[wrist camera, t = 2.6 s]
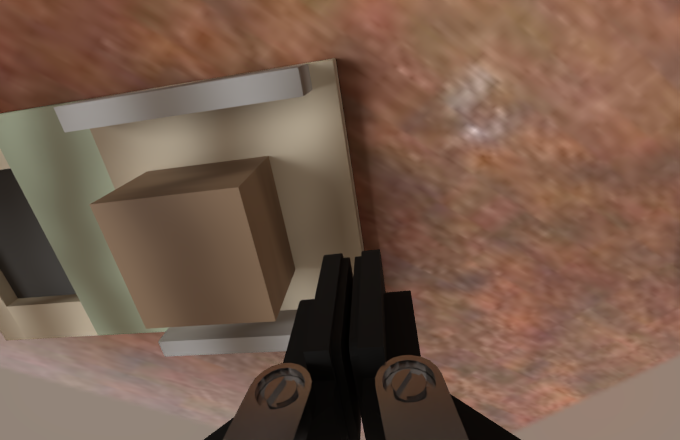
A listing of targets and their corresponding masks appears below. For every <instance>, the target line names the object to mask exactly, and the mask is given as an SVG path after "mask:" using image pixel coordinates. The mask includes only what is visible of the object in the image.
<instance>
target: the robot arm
mask: <svg viewBox="0 0 680 440" xmlns="http://www.w3.org/2000/svg"><path fill="white" fill-rule="evenodd" d="M361 418H362V423H363V428H364V433H365V438H366V440H521V439H519V438H517V437H516V436H514V435H513V434H511V433H510V432H508V431H507V430H505V429H504V428H502V427H500V426H499V425H497V424H496V423H494V422H493V421H491V420H490V419H488V418H486V417H485V416H483V415H482V414H480V413H479V412H477V411H476V410H474V409H473V408H471V407H469V406H468V405H466V404H465V403H463V402H462V401H460V400H459V399H457V398H455V397H454V396H452V395H451V394H450V393H449V390H448V388H447V385H446V383H445V380H444V378H443V376H442V373H441V372H440V370H439V369H438V367H437V366H436V365H435V364H433V363H432V362H431V361H430V360H427V359H425V358H423V357H421V355H420V349H419V342H418V336H417V330H416V323H415V317H414V310H413V304H412V298H411V292H410V291H400V292H388V293H385V285H384V278H383V270H382V262H381V255H380V249H379V250H369V251H361V256H357V257H355V260H354V275H353V272H352V266H351V261H350V257H347V258H344V257H343V254H342V253H339V254H329V255H324V256H323V261H322V265H321V270H320V275H319V280H318V284H317V289H316V294H315V299H307V300H301V301H300V302H299V305H298V309H297V312H296V316H295V320H294V324H293V328H292V331H291V335H290V339H289V343H288V347H287V350H286V354H285V358H284V362H283V363H281V364H278V365H274V366H272V367H270V368H268V369H266V370H264V371H263V372H262V373H261V374H259V375H258V376H257V377H256V378H255V380H254V381H253V382H252V384H251V385H250V387H249V389H248V391H247V393H246V395H245V397H244V399H243V401H242V403H241V405H240V407H239V409H238V411H237V413H236V415H235V417H234V418H232V419H231V420H230V421H228V422H227V423H226V424H224V425H223V426H222V427H220V428H219V429H217V430H216V431H215V432H213V433H212V434H211V435H209V436H208V437H207V438H205V439H204V440H360V431H361Z"/></svg>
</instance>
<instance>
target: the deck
mask: <svg viewBox="0 0 680 440" xmlns="http://www.w3.org/2000/svg"><path fill="white" fill-rule="evenodd" d="M263 156H269V160H270V164H271V168H272V172H273V177H274V181H275V185H276V189H277V194H278V198H279V202H280V206H281V210H282V215H283V219H284V223H285V227H286V232H287V236H288V240H289V244H290V248H291V253H292V257H293V261H294V265H295V272H294V275H293V277H292V280H291V283H290V285H289V288H288V290H287V293H286V296H285V298H284V301H283V304H282V306H281V309H280V311H279V314H278V317H277V319H276V321H273V322H255V323H237V324H220V325H202V326H185V327H167V328H150V329H146V328H145V325H144V323H143V321H142V319H141V317H140V314H139V312H138V310H137V308H136V306H135V304H134V301H133V299H132V297H131V295H130V293H129V290H128V288H127V286H126V284H125V282H124V279H123V277H122V275H121V273H120V271H119V268H118V266H117V264H116V262H115V260H114V257H113V255H112V253H111V251H110V249H109V246H108V244H107V242H106V240H105V238H104V235H103V233H102V231H101V229H100V227H99V224H98V222H97V220H96V218H95V216H94V214H93V211H92V209H91V207H90V205H89V204H91V203H93V202H95V201H96V200H98V199H100V198H102V197H103V196H105V195H107V194H109V193H110V192H112V191H114V190H115V189H117V188H119V187H121V186H122V185H124V184H126V183H128V182H129V181H131V180H133V179H135V178H136V177H138V176H140V175H142V174H143V173H145V172H147V171H153V170H161V169H169V168H177V167H185V166H192V165H200V164H208V163H216V162H224V161H231V160H239V159H247V158H255V157H263ZM361 251H364V247H363V240H362V233H361V226H360V220H359V213H358V206H357V200H356V193H355V186H354V179H353V173H352V166H351V159H350V152H349V146H348V139H347V132H346V126H345V119H344V112H343V105H342V99H341V92H340V85H339V78H338V72H337V65H336V58H333V59H327V60H321V61H315V62H309V63H303V64H297V65H291V66H285V67H279V68H272V69H266V70H260V71H254V72H248V73H242V74H236V75H230V76H224V77H218V78H212V79H206V80H200V81H194V82H188V83H182V84H176V85H170V86H163V87H157V88H151V89H145V90H139V91H133V92H127V93H121V94H115V95H109V96H103V97H97V98H91V99H85V100H79V101H73V102H67V103H61V104H55V105H48V106H42V107H36V108H30V109H24V110H18V111H12V112H6V113H0V331H1V333H2V335H3V336H4V338H5V339H6V340H23V339H42V338H60V337H78V336H96V335H114V334H132V333H150V332H165V333H164V335H163V336H162V338H161V339H160V340H159V345H160V347H161V349H162V351H163V354H164V356H185V355H208V354H231V353H254V352H276V351H286V350H287V347H288V343H289V339H290V335H291V331H292V328H293V324H294V320H295V316H296V312H297V309H298V305H299V302H300V301H301V300H307V299H315V294H316V289H317V284H318V280H319V275H320V270H321V265H322V261H323V256H324V255H329V254H339V253H342V254H343V257H344V258H347V257H350V261H351V266H352V272H353V275H354V260H355V257H357V256H361Z"/></svg>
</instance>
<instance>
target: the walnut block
mask: <svg viewBox="0 0 680 440" xmlns="http://www.w3.org/2000/svg"><path fill="white" fill-rule="evenodd" d="M89 205H90V207H91V209H92V211H93V214H94V216H95V218H96V220H97V222H98V224H99V227H100V229H101V231H102V233H103V235H104V238H105V240H106V242H107V244H108V246H109V249H110V251H111V253H112V255H113V257H114V260H115V262H116V264H117V266H118V268H119V271H120V273H121V275H122V277H123V279H124V282H125V284H126V286H127V288H128V290H129V293H130V295H131V297H132V299H133V301H134V304H135V306H136V308H137V310H138V312H139V314H140V317H141V319H142V321H143V323H144V325H145V328H146V329H150V328H167V327H185V326H202V325H220V324H237V323H255V322H273V321H276V319H277V317H278V314H279V311H280V309H281V306H282V304H283V301H284V298H285V296H286V293H287V290H288V288H289V285H290V283H291V280H292V277H293V275H294V272H295V265H294V261H293V257H292V253H291V248H290V244H289V240H288V236H287V232H286V227H285V223H284V219H283V215H282V210H281V206H280V202H279V198H278V194H277V189H276V185H275V181H274V177H273V172H272V168H271V164H270V160H269V156H263V157H255V158H247V159H239V160H231V161H224V162H216V163H208V164H200V165H192V166H185V167H177V168H169V169H161V170H153V171H147V172H145V173H143V174H142V175H140V176H138V177H136V178H135V179H133V180H131V181H129V182H128V183H126V184H124V185H122V186H121V187H119V188H117V189H115V190H114V191H112V192H110V193H109V194H107V195H105V196H103V197H102V198H100V199H98V200H96V201H95V202H93V203H91V204H89Z"/></svg>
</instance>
